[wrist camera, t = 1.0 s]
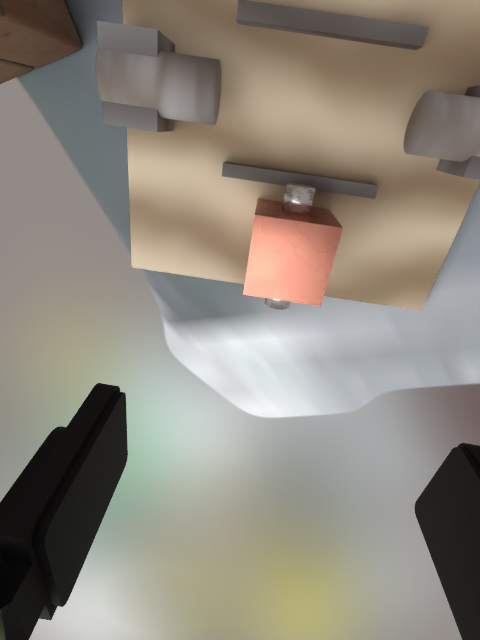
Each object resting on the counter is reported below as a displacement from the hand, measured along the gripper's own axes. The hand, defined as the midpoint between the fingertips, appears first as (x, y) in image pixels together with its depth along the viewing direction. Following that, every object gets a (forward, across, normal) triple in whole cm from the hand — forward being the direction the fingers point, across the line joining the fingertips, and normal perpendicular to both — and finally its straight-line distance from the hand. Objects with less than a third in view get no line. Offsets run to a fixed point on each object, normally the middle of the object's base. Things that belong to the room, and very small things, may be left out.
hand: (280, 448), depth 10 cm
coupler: (+18, -1, -1) cm, 18 cm away
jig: (+19, -1, -6) cm, 20 cm away
